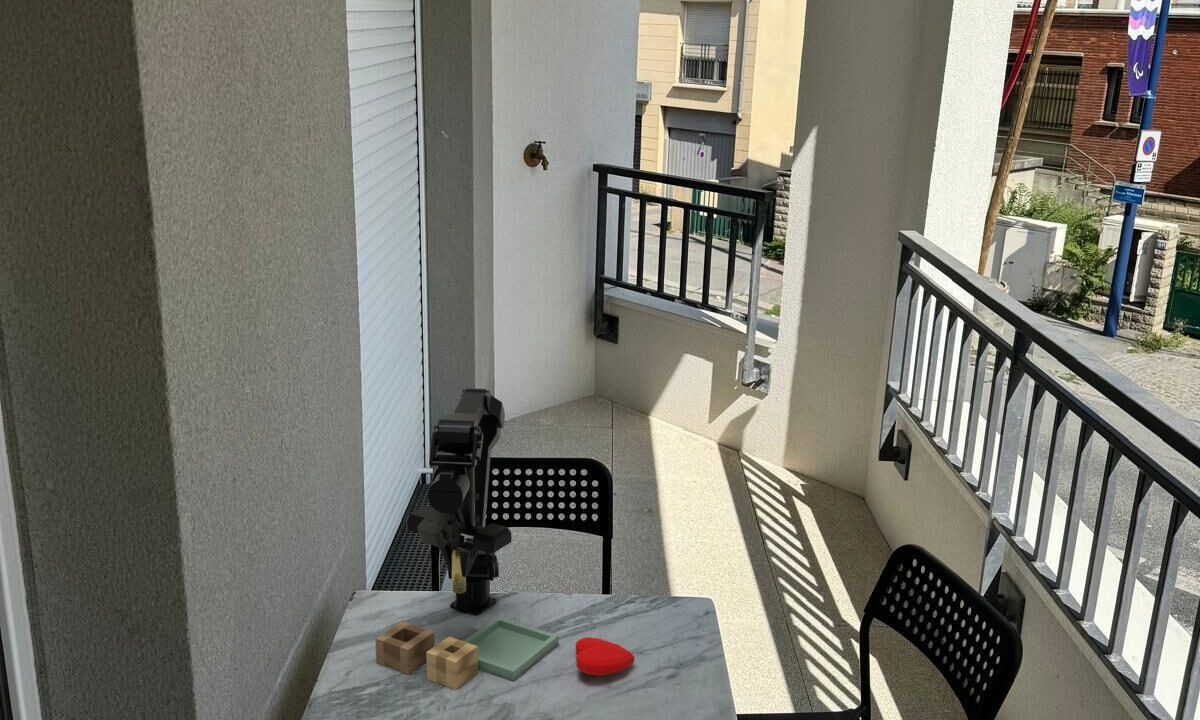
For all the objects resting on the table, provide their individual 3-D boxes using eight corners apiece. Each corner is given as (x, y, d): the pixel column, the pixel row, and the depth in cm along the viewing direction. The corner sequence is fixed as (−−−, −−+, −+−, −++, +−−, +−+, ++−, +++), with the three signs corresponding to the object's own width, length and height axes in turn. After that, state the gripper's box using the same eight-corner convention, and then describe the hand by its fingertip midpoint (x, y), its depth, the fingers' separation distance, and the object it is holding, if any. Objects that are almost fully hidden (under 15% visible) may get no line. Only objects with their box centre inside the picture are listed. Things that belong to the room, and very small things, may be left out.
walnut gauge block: (403, 645, 192) (402, 621, 191) (434, 656, 188) (434, 631, 187) (376, 662, 186) (375, 638, 185) (408, 674, 182) (407, 649, 181)
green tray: (498, 625, 199) (498, 616, 199) (558, 644, 193) (558, 635, 192) (450, 659, 187) (450, 650, 187) (513, 681, 181) (513, 671, 181)
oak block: (449, 663, 186) (448, 636, 185) (477, 673, 183) (477, 646, 182) (426, 679, 181) (426, 652, 180) (456, 689, 178) (455, 662, 177)
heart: (630, 658, 192) (573, 653, 191) (633, 635, 192) (576, 630, 191) (635, 685, 180) (575, 679, 179) (638, 660, 180) (578, 654, 179)
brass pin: (457, 586, 192) (457, 544, 190) (468, 589, 191) (468, 547, 189) (449, 591, 190) (448, 549, 188) (460, 594, 189) (459, 552, 187)
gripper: (383, 494, 184) (386, 579, 188) (473, 517, 175) (474, 606, 179) (426, 474, 193) (428, 555, 197) (513, 495, 184) (513, 580, 188)
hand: (459, 574), depth 190 cm, fingers closed on brass pin, 2 cm apart
